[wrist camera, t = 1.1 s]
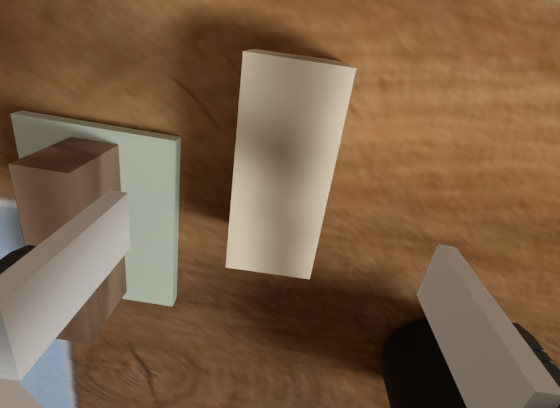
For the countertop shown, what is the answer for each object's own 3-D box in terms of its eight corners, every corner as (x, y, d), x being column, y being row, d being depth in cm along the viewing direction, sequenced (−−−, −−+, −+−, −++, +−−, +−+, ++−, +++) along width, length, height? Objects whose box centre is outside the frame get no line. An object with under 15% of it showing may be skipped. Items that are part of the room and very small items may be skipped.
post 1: (79, 208, 28) (26, 249, 22) (71, 136, 25) (8, 163, 20) (122, 215, 28) (79, 258, 22) (118, 144, 25) (68, 173, 20)
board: (52, 278, 33) (43, 286, 31) (22, 110, 25) (10, 113, 24) (176, 297, 33) (172, 306, 32) (180, 136, 26) (175, 141, 25)
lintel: (238, 225, 29) (225, 267, 24) (255, 48, 23) (242, 51, 18) (307, 235, 29) (309, 279, 24) (342, 61, 23) (356, 68, 18)
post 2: (88, 285, 31) (44, 336, 26) (81, 229, 28) (31, 273, 23) (126, 291, 31) (90, 343, 26) (123, 236, 29) (82, 281, 23)
